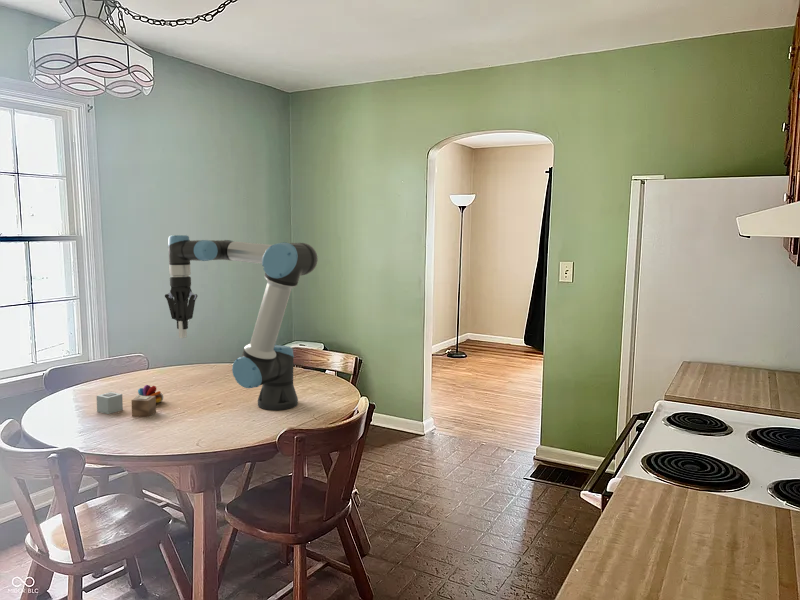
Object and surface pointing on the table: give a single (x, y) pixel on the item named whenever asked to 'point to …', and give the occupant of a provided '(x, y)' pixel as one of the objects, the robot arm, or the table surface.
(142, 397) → the walnut block
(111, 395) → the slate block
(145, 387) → the rainbow segmented toy
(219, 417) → the table surface
